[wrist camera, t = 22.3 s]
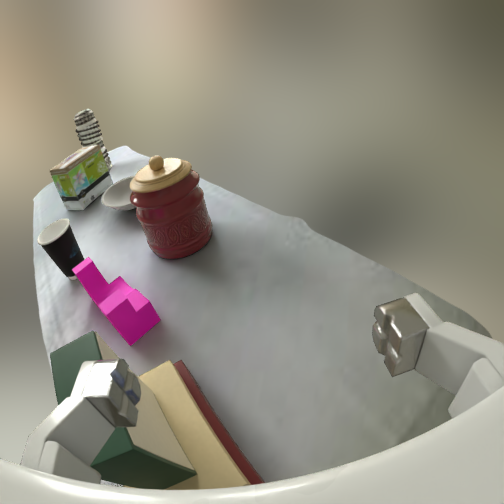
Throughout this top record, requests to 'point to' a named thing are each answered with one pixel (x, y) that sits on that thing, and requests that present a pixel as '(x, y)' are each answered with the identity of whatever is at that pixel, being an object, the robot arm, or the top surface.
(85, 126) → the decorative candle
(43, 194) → the top surface
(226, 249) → the top surface
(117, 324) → the toy block
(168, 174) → the kitchen canister
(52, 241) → the dixie cup
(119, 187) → the dish
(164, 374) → the book stack
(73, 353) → the book
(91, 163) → the tea box
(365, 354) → the top surface
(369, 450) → the top surface
